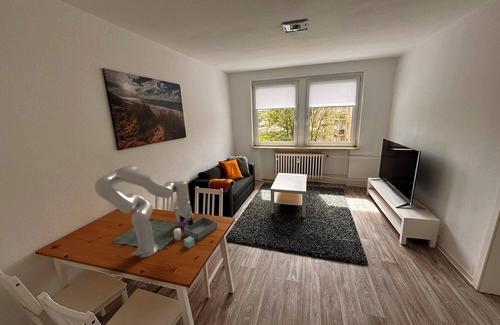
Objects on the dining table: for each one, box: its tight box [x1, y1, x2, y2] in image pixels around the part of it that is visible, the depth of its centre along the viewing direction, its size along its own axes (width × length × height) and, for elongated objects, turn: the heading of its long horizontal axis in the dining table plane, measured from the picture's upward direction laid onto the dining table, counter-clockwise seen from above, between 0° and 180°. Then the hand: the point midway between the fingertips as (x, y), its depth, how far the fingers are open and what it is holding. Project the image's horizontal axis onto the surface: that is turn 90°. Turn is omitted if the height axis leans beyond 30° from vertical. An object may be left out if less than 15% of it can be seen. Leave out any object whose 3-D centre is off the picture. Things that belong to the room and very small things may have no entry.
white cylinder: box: [173, 227, 183, 241], centre depth 146 cm, size 5×5×7 cm
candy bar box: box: [173, 206, 190, 228], centre depth 161 cm, size 11×5×16 cm, turn 84°
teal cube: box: [183, 236, 196, 249], centre depth 138 cm, size 5×5×5 cm
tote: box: [183, 216, 218, 242], centre depth 154 cm, size 20×16×6 cm
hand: (186, 222), depth 134 cm, fingers open, 9 cm apart
